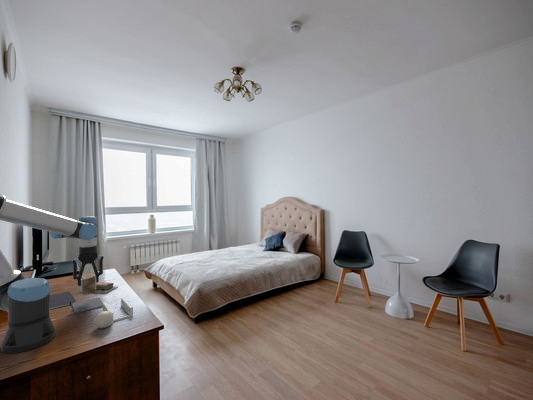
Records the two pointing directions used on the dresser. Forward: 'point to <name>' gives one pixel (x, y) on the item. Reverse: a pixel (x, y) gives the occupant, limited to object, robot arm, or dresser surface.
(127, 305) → the rack
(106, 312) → the cream piece
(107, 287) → the packaged product
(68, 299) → the notebook
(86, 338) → the dresser surface
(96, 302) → the felt pad
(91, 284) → the panel
